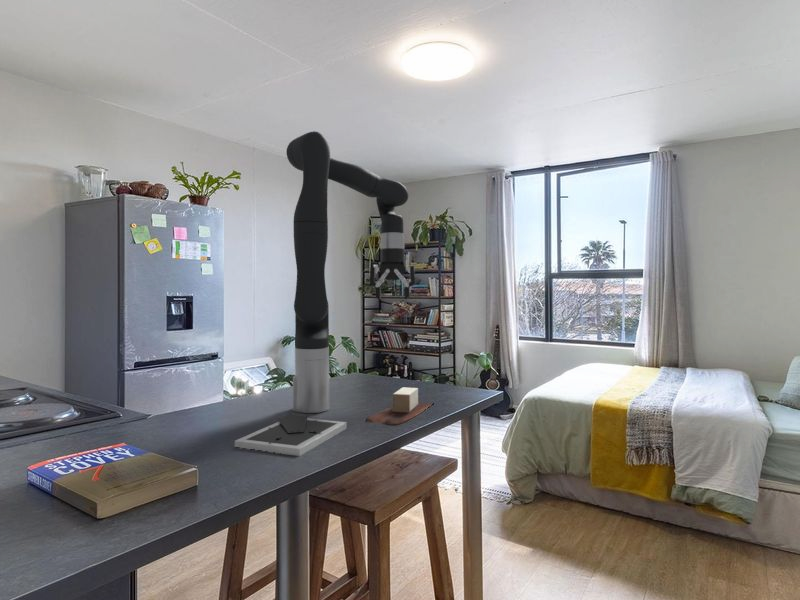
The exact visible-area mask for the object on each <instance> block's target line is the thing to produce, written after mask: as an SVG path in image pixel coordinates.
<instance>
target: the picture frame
mask: <svg viewBox="0 0 800 600" xmlns="http://www.w3.org/2000/svg"><path fill="white" fill-rule="evenodd" d="M277 419H278V421H277V422H275V423H273V424H272V423H271V425H268V426H266V427H263V428H261V429H259V430H256V431H254V432H252V433H250V434H247V435H245V436H243V437H240V438H238V439H236V440H234V448H235V447H241V448H240V449H242V448H247V449H246V450H250V449H255V450H254V451H257V450H262V451H261V452H265V451H268V452H267V453H273V452H275V453H274V454H280V453H281V455H290V456H296V457H301V456H302V455H304V454H306V453H307V452H309V451H311V450H313V449H314V448H315V447H318V446H319V445H321V444H322V443H324V442H326V441H327V440H329V439H331V438H334V437H335V436H336V435H338V434H340V433H341V432H343V431H344V430H346V429H347V426H348V425H347V423H348V422H347V421H338V420H330V419H329V420H327V419H318V418H317V419H316V418H308V415H302V414H294V413H287V414H286V415H284V416H282V417H279V418H277Z"/></svg>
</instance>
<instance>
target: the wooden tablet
mask: <svg viewBox="0 0 800 600" xmlns="http://www.w3.org/2000/svg"><path fill="white" fill-rule="evenodd" d="M430 402H431V401H429V402H428V403H424V401H418V405H417V406H415V407H414V408H413V409H412V410H411V411H410V412H409V413H407V412H392V406H391V407H389V408H386V409H384V410H383V409H382V410H381V411H379V412H376V413H374V414H371V415H370V416H368V417H366V419H365V422H366V423H381V424H383V425H387V426H399V425H401V424H403V423H405V422H407V421H410V420H411V419H412V418H415V417H416V416H418V415H419V414H421V413H423V412H424V410H425V409H426V410H428V409H429V408H428V407H429V406H431V405H432V404H433V403H434V402H433V403H430ZM432 406H433V405H432ZM432 406H431V407H432ZM427 408H428V409H427ZM426 410H425V411H426Z"/></svg>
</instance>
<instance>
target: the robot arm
mask: <svg viewBox="0 0 800 600" xmlns="http://www.w3.org/2000/svg"><path fill="white" fill-rule="evenodd" d="M286 157H287V161H288V162H289V164H290V165H291V166H292V167H293V168H295V169H297V170H299V171H301V172H302V187H301V191H300V194H299V197H298V200H297V203H296V206H295V209H294V213H293V245H294V257H295V264H296V286H295V295H294V301H293V310H294V315H295V316H294V317H295V318H294V319H295V320H294V321H295V322H294V323H295V332H294V333H295V334H294V372H295V373H294V375H293V376H292V411H293V412H298V413H302V414H313V413H314V414H315V413H323V412H326V411H328V410H329V409H330V350H329V349H330V348H329V347H330V337H329V336H330V335H329V334H330V328H329V325H330V324H329V323H330V322H329V320H330V319H329V316H330V315H329V314H330V313H329V312H330V310H329V300H328V297H327V296H328V294H327V290H326V289H327V288H326V278H325V276H326V275H325V273H326V272H325V269H326V262H327V253H328V244H329V243H328V242H329V241H328V239H329V235H328V234H329V229H328V228H329V227H328V226H329V222H328V221H329V218H328V187H329V186H328V183H329V181H333V182H335V183H338V184H341V185H342V186H345V187H348V188H349V189H352V190H354V191H356V192H358V193H359V194H362V195H364V196H366V197H369V198H375V199H376V207H377V210H378V213H379V214H378V215H379V217H380V221H381V228H380V229H381V231H380V232H381V234H380V235H381V236H380V265H379V267H378V266H377V267H376V266H370V270H369V271H370V274H369V275H370V276H369V285H370V286H372V287H375V297H376V298H377V300H382V287H381V286H382V285H383V283H384V282H385V281H392V280H394V281H399V280H400V281H401V282H402V284H403V285H404V286H405V287H404V300H408V298H410V288H411V287H413V286H415V285H416V272H415V271H416V270H415V266H413V265H412V266H406V265H405V247H406V246H405V237H404V235H405V234H404V218H403V216H402V215H400V214H397V213H396V210H395V208H396V207H400V206H403V205H405V204H406V203H407V202H408V199H409V191H408V189H407V187H406V186H405V185H404V184H402V183H401V182H399V181H397V180H394V179H390V178H387V177H382V176H379V175H378V174H376V173H374V172H372V171H371V170H369V169H367V168H365V167H362V166H359V165H357V164H353V163H350V162H344V161H341V160H337V159H334V158H331V149H330V144H329V142H328V139H327V138H326V137H325V136H324V135H323V133H321V132H319V131H316V130H315V131H309V132H305V133H304V134H302V135H300V136H297V137H296V138H294V139H293V140H291V141H289V143H288V145H287V147H286ZM406 271H407V273H409V274H410V282H408V280H407V278H405V277H404V274H405V273H406ZM378 272H380V274H381V276H380V277H379V279H378V281H377V282H376V275H377V274H378Z"/></svg>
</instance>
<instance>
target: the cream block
mask: <svg viewBox="0 0 800 600" xmlns="http://www.w3.org/2000/svg"><path fill="white" fill-rule="evenodd" d="M391 395H392V401H391V402H392V406H391V407H392V412H407V413H409V412H410V411H411V410H412V409H413V408H414V407H415V406H417V405H418V402H419V388H418V387H403V386H402V387H401V388H400V389H398V390H397V391H395V392H394V393H392V394H391Z"/></svg>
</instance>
